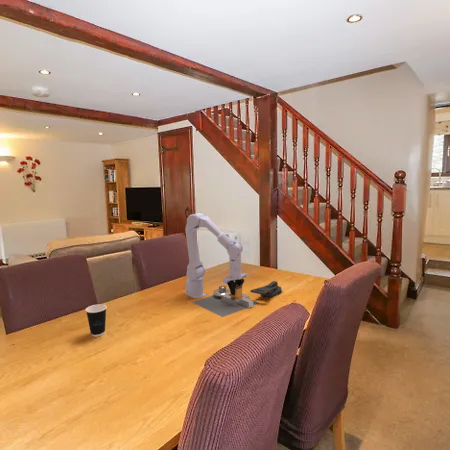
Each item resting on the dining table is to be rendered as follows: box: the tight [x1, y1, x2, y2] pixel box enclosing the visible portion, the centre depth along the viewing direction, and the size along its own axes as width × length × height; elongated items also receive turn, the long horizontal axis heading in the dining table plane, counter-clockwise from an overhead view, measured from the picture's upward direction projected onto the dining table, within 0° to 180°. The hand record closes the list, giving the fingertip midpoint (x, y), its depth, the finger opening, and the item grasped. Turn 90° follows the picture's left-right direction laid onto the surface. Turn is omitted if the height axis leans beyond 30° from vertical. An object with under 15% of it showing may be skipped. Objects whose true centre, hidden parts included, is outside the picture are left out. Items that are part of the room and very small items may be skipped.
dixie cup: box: [84, 303, 108, 338], centre depth 129 cm, size 8×8×11 cm
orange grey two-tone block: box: [231, 284, 243, 298], centre depth 160 cm, size 5×3×7 cm, turn 41°
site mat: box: [191, 294, 260, 318], centre depth 160 cm, size 24×24×1 cm
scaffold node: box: [212, 285, 254, 309], centre depth 163 cm, size 26×10×5 cm, turn 41°
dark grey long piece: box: [249, 280, 282, 298], centre depth 168 cm, size 9×7×25 cm
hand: (235, 293), depth 161 cm, fingers closed on orange grey two-tone block, 3 cm apart
